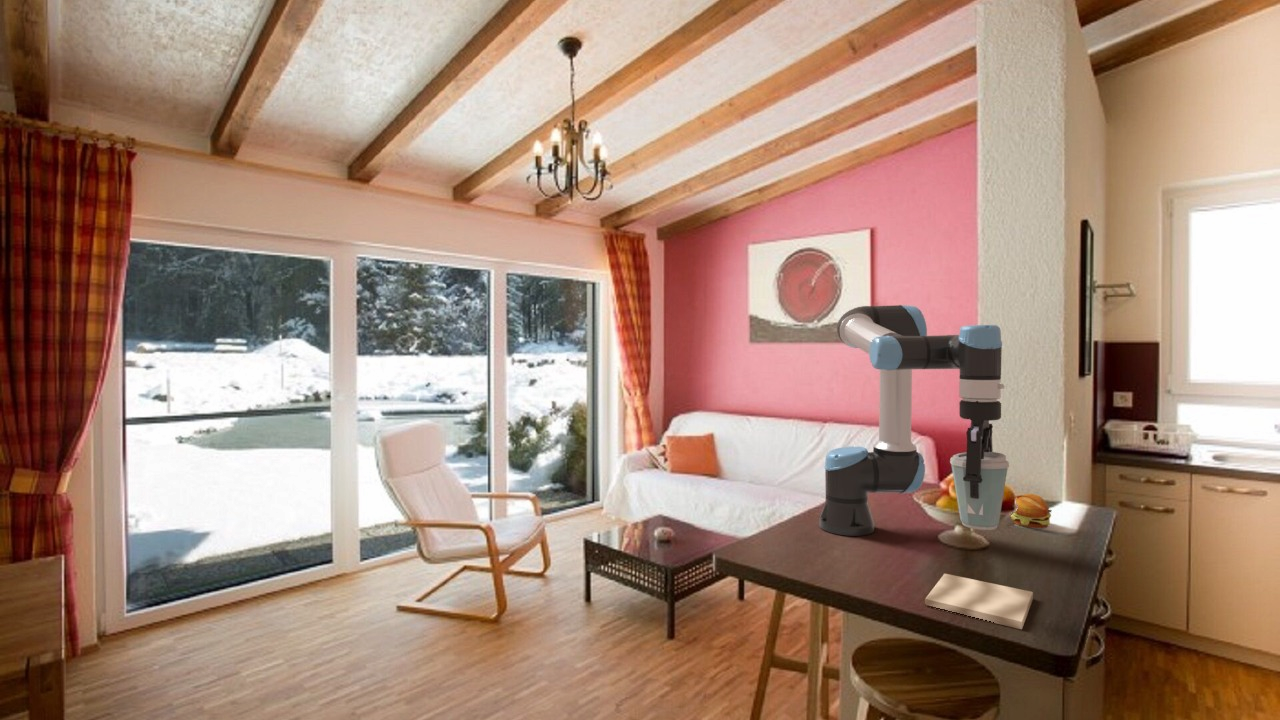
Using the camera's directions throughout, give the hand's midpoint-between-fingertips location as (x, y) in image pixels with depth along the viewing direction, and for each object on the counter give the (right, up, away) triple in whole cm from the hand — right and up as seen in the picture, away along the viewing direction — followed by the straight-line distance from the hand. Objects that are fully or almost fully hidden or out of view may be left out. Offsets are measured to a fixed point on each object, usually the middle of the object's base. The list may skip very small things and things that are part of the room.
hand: (979, 508), depth 125 cm
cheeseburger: (+44, -18, +52) cm, 71 cm away
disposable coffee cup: (-1, -4, -1) cm, 4 cm away
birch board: (0, -20, +1) cm, 20 cm away
